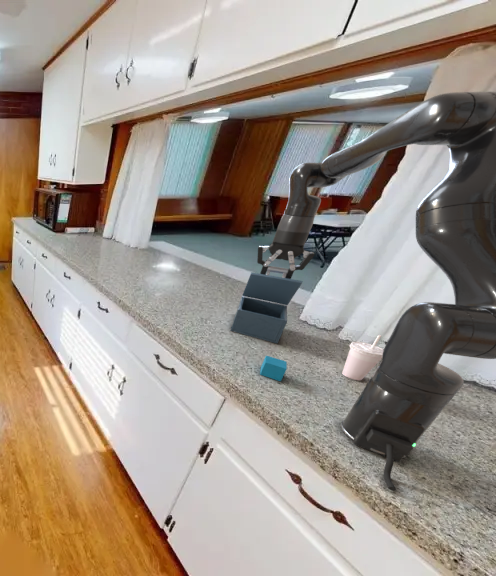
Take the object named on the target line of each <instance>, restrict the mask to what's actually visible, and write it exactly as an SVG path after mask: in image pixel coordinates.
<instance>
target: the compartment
mask: <svg viewBox="0 0 496 576" xmlns="http://www.w3.org/2000/svg"><path fill="white" fill-rule="evenodd" d="M287 324H288V305H283V304H279V303H274V302H269V301H265V300H260V299H255V298H250V297H246V296H241V297H240V300H239V304H238V305H237V309H236V312H235V314H234V317H233V320H232V323H231V327H230V331H231V332H233V333H237V334H241V335H243V336H244V335H245V336H249V337H251V338H255V339H259V340H262V341H266V342H270V343H274V344H279V341H280V339H281V337H282V334H283V332H284V330H285V329H286V326H287Z"/></svg>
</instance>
